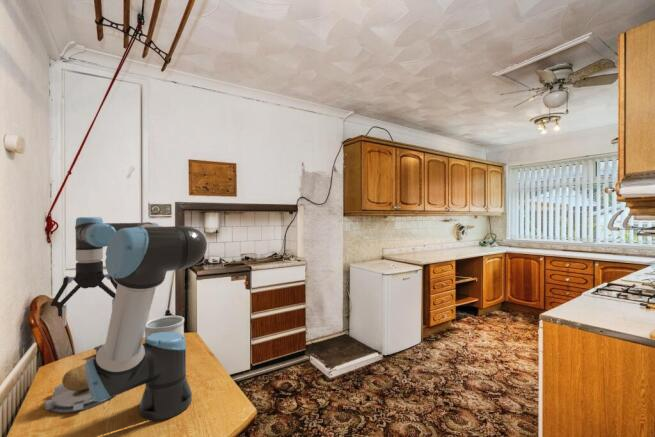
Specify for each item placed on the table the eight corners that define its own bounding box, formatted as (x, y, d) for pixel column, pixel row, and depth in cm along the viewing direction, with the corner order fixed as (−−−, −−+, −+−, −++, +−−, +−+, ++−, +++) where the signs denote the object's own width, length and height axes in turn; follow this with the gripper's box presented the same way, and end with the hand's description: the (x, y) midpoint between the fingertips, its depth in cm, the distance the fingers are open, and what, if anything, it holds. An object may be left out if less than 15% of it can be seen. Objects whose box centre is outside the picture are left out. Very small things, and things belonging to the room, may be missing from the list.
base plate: (120, 400, 101) (120, 398, 101) (42, 421, 90) (42, 418, 90) (122, 375, 117) (122, 373, 117) (56, 390, 107) (56, 388, 107)
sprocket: (56, 420, 89) (56, 397, 89) (36, 398, 100) (36, 377, 100) (134, 386, 107) (134, 367, 107) (110, 371, 118) (110, 353, 118)
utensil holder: (157, 375, 117) (157, 330, 117) (137, 365, 125) (136, 323, 125) (191, 359, 129) (191, 319, 129) (171, 351, 137) (171, 313, 137)
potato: (118, 379, 108) (118, 356, 108) (73, 401, 95) (73, 376, 95) (100, 374, 112) (100, 352, 112) (54, 395, 99) (54, 370, 99)
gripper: (131, 257, 116) (131, 312, 116) (43, 262, 102) (44, 325, 102) (132, 259, 110) (132, 317, 110) (38, 265, 96) (39, 332, 96)
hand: (89, 321), depth 106 cm, fingers open, 13 cm apart
